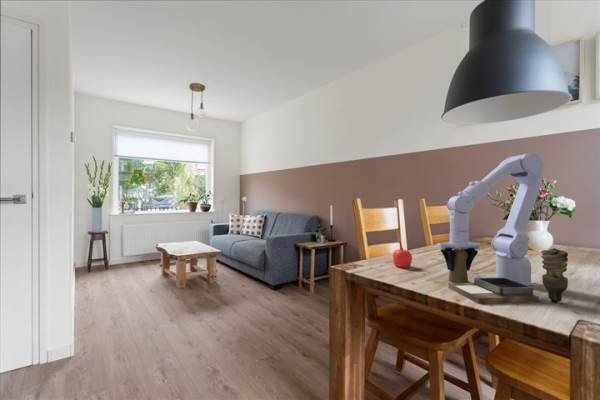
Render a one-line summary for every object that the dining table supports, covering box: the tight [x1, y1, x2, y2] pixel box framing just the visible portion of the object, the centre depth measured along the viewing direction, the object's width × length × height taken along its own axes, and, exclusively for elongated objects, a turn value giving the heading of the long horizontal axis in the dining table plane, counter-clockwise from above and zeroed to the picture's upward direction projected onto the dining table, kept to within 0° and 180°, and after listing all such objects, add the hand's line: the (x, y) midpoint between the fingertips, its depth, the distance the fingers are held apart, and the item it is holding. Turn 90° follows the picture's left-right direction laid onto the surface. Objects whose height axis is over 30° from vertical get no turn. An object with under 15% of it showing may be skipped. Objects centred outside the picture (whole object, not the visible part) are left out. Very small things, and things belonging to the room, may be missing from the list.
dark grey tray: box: [473, 276, 534, 296], centre depth 83 cm, size 10×10×2 cm
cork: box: [447, 249, 469, 283], centre depth 95 cm, size 6×6×11 cm
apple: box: [392, 247, 413, 269], centre depth 115 cm, size 8×8×8 cm
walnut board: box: [447, 282, 540, 305], centre depth 82 cm, size 18×13×2 cm
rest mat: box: [456, 285, 494, 294], centre depth 82 cm, size 7×7×1 cm
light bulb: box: [540, 247, 569, 304], centre depth 77 cm, size 6×6×15 cm
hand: (458, 270), depth 95 cm, fingers open, 5 cm apart
